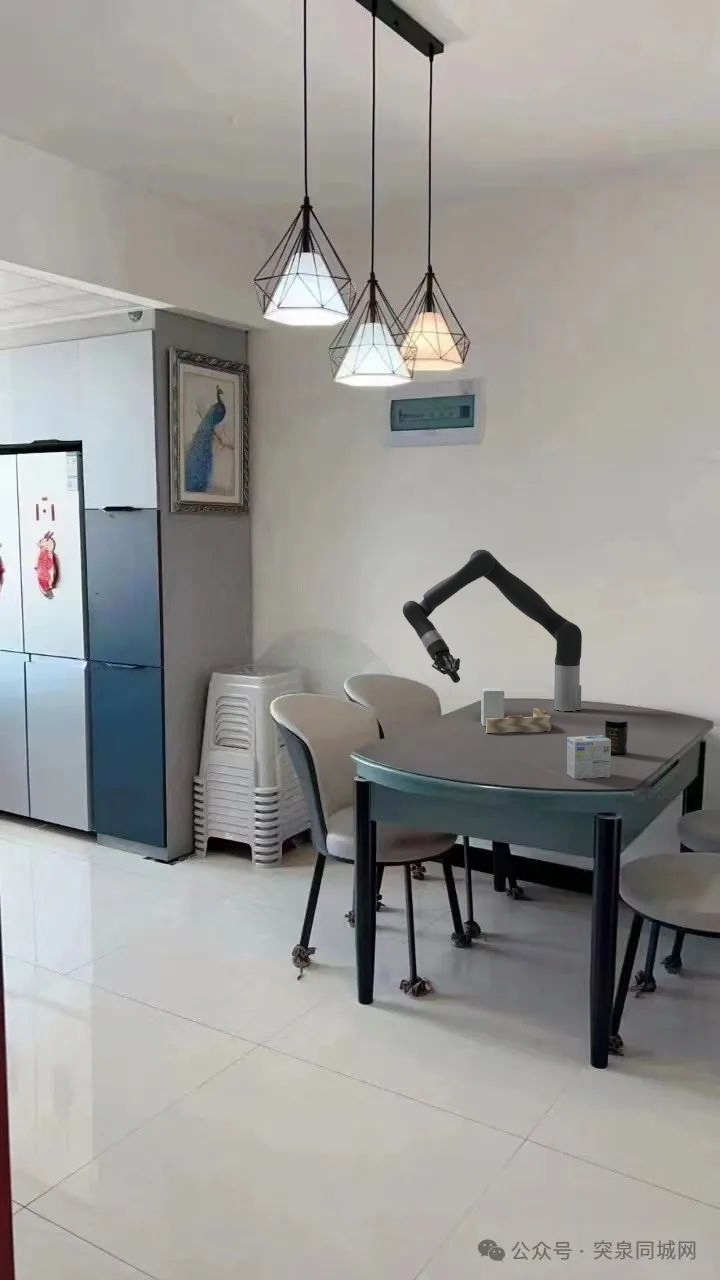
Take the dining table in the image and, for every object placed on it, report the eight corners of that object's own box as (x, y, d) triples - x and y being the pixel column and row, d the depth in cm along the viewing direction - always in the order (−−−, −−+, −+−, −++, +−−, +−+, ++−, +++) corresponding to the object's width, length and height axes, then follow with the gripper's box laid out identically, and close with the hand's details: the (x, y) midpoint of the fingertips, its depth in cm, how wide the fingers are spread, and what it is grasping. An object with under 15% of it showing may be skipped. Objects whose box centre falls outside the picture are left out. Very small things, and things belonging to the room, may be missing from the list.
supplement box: (504, 726, 339) (504, 690, 338) (482, 726, 340) (483, 690, 338) (501, 722, 347) (502, 687, 345) (480, 722, 347) (480, 687, 346)
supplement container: (627, 756, 294) (627, 722, 293) (603, 755, 296) (604, 721, 295) (627, 751, 301) (628, 718, 300) (604, 750, 303) (605, 717, 301)
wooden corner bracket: (536, 721, 347) (536, 706, 347) (551, 731, 331) (552, 715, 330) (474, 724, 344) (474, 708, 344) (486, 733, 328) (487, 717, 327)
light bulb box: (601, 772, 276) (602, 734, 275) (611, 778, 270) (612, 739, 269) (565, 773, 275) (566, 735, 274) (574, 779, 268) (575, 741, 267)
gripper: (426, 639, 358) (449, 676, 349) (452, 637, 366) (475, 673, 357) (416, 653, 362) (439, 689, 354) (443, 650, 370) (465, 685, 362)
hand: (457, 681), depth 356 cm, fingers closed
